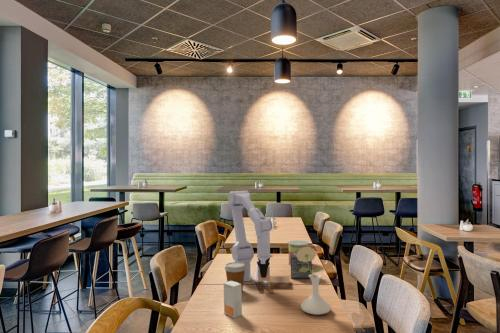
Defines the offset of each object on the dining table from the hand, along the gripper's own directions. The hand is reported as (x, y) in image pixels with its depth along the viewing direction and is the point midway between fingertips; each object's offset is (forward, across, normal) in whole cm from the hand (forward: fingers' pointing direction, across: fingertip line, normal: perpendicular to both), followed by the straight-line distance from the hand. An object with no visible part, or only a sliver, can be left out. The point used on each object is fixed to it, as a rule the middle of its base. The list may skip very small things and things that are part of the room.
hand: (263, 275), depth 163 cm
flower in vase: (+7, -22, -20) cm, 31 cm away
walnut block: (+7, +8, -7) cm, 13 cm away
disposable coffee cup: (+7, -1, +13) cm, 15 cm away
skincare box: (+7, -26, +11) cm, 29 cm away
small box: (+7, +20, -18) cm, 28 cm away
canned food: (+7, +44, -18) cm, 48 cm away
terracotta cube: (+2, 0, 0) cm, 2 cm away
